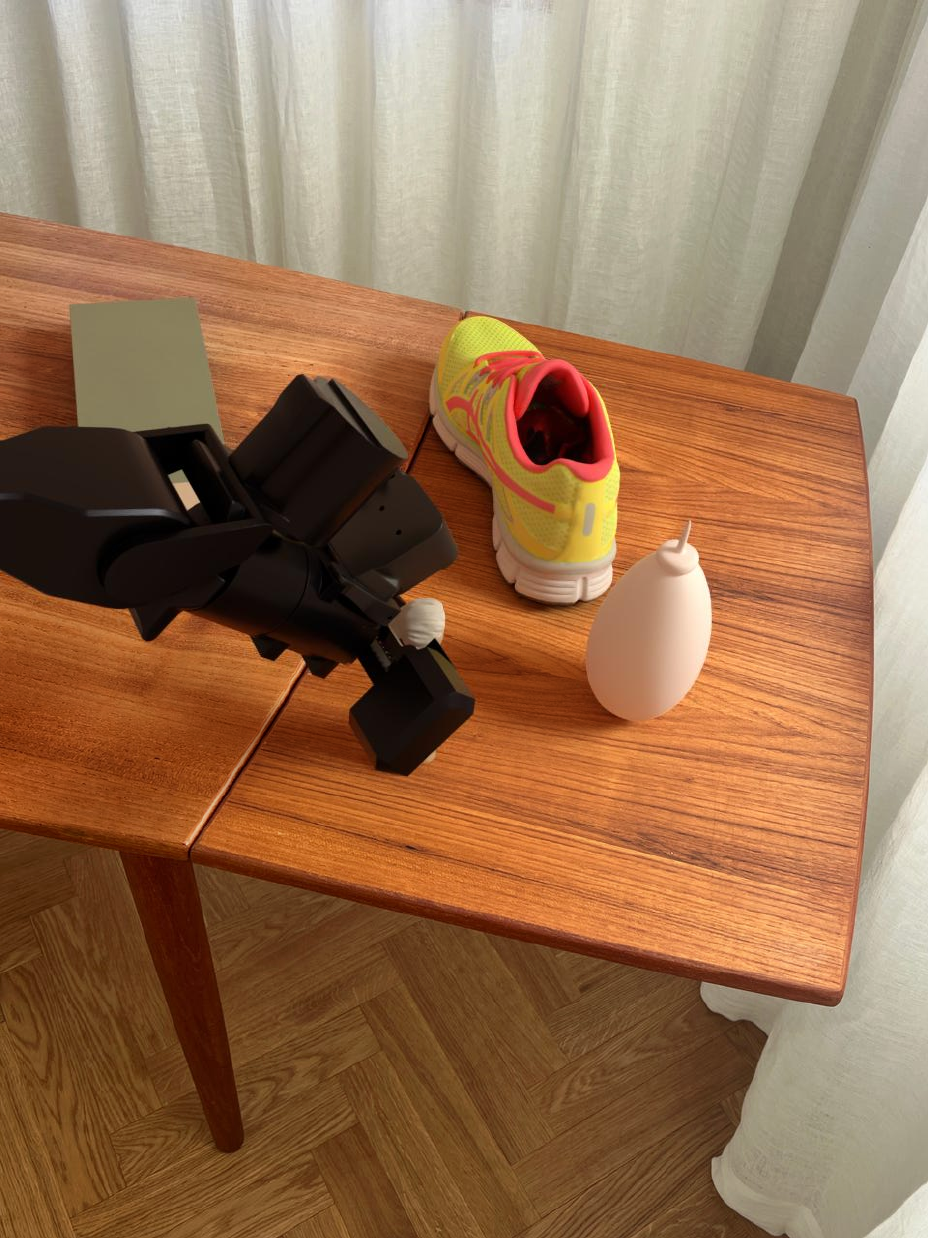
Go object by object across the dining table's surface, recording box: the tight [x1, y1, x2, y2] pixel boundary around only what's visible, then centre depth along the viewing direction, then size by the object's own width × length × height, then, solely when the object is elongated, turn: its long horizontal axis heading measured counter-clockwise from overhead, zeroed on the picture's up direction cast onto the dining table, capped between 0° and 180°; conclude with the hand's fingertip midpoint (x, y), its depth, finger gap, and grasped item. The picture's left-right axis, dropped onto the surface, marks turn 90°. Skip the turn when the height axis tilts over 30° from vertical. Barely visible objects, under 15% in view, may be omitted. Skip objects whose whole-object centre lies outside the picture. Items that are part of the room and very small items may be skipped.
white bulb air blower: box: [585, 520, 713, 722], centre depth 73 cm, size 8×8×18 cm
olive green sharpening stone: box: [68, 296, 226, 510], centre depth 92 cm, size 32×11×4 cm, turn 15°
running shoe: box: [428, 315, 621, 606], centre depth 90 cm, size 12×31×14 cm, turn 18°
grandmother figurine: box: [389, 597, 446, 765], centre depth 70 cm, size 8×4×13 cm, turn 33°
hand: (434, 655), depth 70 cm, fingers closed on grandmother figurine, 6 cm apart
